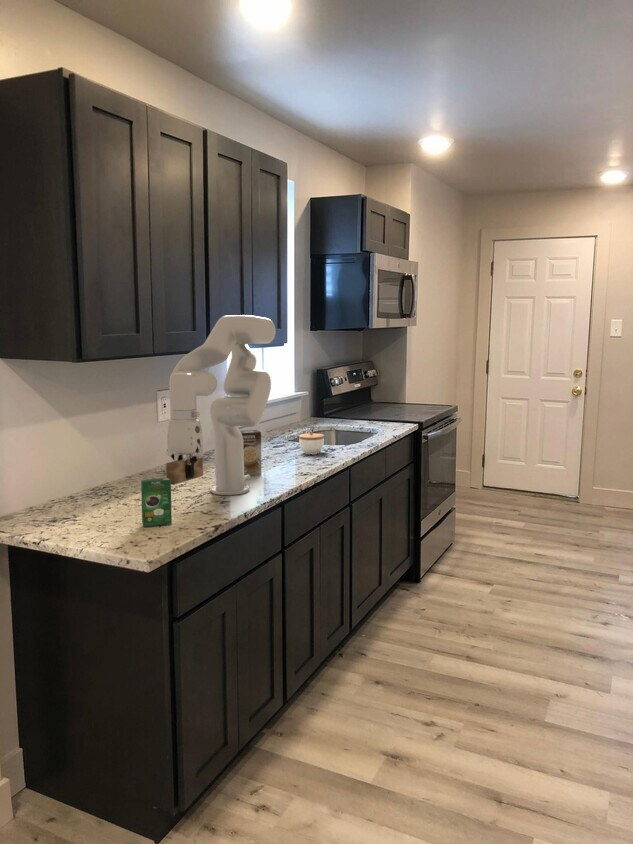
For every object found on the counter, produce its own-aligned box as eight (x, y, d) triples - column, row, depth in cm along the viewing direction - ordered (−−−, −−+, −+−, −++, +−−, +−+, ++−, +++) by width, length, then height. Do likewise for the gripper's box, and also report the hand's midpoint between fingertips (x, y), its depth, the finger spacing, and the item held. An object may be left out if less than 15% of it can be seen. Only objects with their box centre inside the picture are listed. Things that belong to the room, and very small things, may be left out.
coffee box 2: (237, 477, 246) (236, 433, 244) (233, 473, 252) (232, 430, 250) (262, 474, 249) (261, 431, 247) (257, 471, 255) (256, 429, 253)
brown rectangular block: (196, 475, 207) (195, 455, 206) (202, 475, 205) (202, 456, 205) (166, 483, 194) (166, 463, 193) (173, 484, 193) (173, 463, 192)
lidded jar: (315, 456, 281) (315, 434, 280) (294, 454, 287) (293, 432, 286) (328, 452, 290) (328, 430, 289) (307, 449, 296) (307, 428, 295)
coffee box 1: (171, 521, 192) (169, 476, 190) (173, 524, 190) (171, 478, 188) (142, 525, 189) (139, 479, 187) (143, 527, 187) (141, 481, 185)
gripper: (214, 415, 197) (215, 477, 200) (169, 412, 204) (171, 472, 207) (198, 418, 191) (200, 482, 193) (153, 415, 198) (155, 477, 200)
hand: (185, 476), depth 200 cm, fingers closed on brown rectangular block, 2 cm apart
